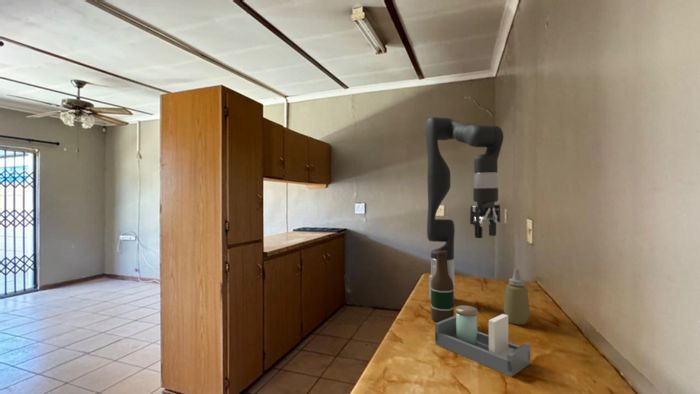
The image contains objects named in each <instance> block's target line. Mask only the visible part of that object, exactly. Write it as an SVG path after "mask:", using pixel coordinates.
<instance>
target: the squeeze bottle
mask: <svg viewBox="0 0 700 394" xmlns="http://www.w3.org/2000/svg"><path fill="white" fill-rule="evenodd" d="M503 301H504V302H503V312H504V314H505V315H508V323H511V324H514V325H518V326H519V325H526V324H527V323H528V320H529V318H530V315H531V311H530V309H531V308H530V301H529V293H528V288H527V287H526V286H525V280H524V279H522V278H521V274H520V271H519V268H514V269H513V273H512V277H511V278H509V279H508V284H507V285H505V294H504V300H503Z"/></svg>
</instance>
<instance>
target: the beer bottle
mask: <svg viewBox="0 0 700 394" xmlns="http://www.w3.org/2000/svg"><path fill="white" fill-rule="evenodd" d="M447 254H448V253H447V251H445V250H438V251H437V269H436V274H435V275H434V276H433V278H432V281H431V299H430V318H431V320H432V321H433V322H434V323H438V322H440V321H443V320H445V319H448V318H450V317H453V316H455V285H454V286H453V282H452V279H451V278H450V276H449V274H448V267H447Z"/></svg>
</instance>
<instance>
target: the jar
mask: <svg viewBox="0 0 700 394" xmlns="http://www.w3.org/2000/svg"><path fill="white" fill-rule="evenodd" d="M478 312H479V310H478V309H477V308H476V307H474V306H471V305H457V306H456V307H455V315H456V339H459V340H461V341H464V342H466V343H469V344H472V345H474V346H477V331H478Z"/></svg>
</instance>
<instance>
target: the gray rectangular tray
mask: <svg viewBox="0 0 700 394" xmlns="http://www.w3.org/2000/svg"><path fill="white" fill-rule="evenodd" d="M434 330H435V331H434V332H435V333H434V335H435V336H434V339H435V340H434V341H435V342H434V343H435V345H436V346H439V347H441V348H444V349H446V350H448V351H451V352H452V353H455V354H457V355H460V356H461V357H465V358H466V359H469V360H471V361H473V362H476V363H479V364H480V365H483V366H486V367H488V368H490V369H492V370H494V371H497V372H499V373H501V374H504V375H506V376H508V377H510V378H512V377H514V376H515V375H516V374H517V373H519V372H520V371H522V370H523V369H524V368H526V367H527V366H529V365H530V364H531V343H529V342H525V343H522V344H521V345H518V344H515V343H512V342H509V341H508V347H510V348H512V349H515V350H513V351H512V352H510V353H509V354H507V358H505V357H502V356H500V355H497V354H495V353H492V352H489V334H486V333H484V332H481V331H478V330H477V346H474V345H472V344H469V343H466V342H464V341H461V340H459V339H456V314H454V316H453V317H450V318H448V319H445V320H443V321H440V322H438V323H437V322H434Z"/></svg>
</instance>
